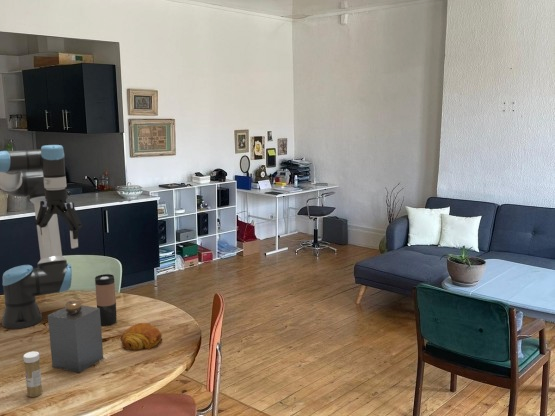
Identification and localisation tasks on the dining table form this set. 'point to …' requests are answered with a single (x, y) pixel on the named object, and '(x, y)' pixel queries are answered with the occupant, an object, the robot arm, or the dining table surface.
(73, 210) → the robot arm
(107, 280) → the travel mug
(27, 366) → the sprinkles bottle
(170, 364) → the dining table surface
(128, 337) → the croissant
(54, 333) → the grey peg holder block
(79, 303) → the plunger
